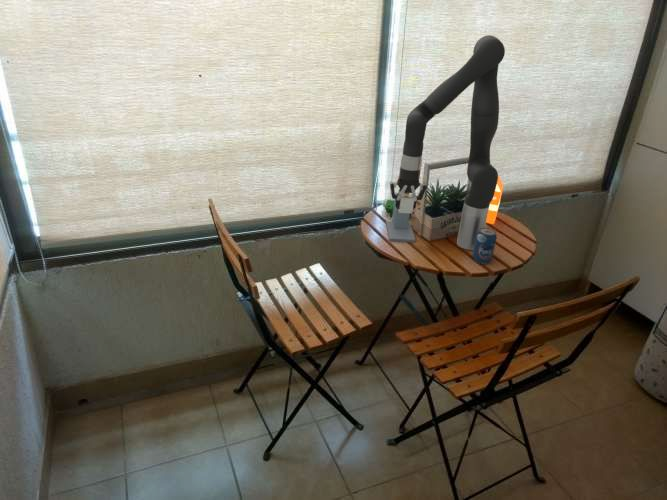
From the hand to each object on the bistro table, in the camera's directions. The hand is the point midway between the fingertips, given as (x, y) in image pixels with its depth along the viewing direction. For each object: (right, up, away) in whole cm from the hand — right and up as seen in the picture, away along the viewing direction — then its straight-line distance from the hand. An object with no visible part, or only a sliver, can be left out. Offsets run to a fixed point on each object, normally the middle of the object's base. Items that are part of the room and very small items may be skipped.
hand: (405, 208), depth 193 cm
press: (-1, -9, +11) cm, 14 cm away
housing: (0, -1, 0) cm, 1 cm away
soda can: (+27, -20, -6) cm, 34 cm away
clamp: (0, -1, +25) cm, 25 cm away
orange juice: (+39, -2, +27) cm, 48 cm away
